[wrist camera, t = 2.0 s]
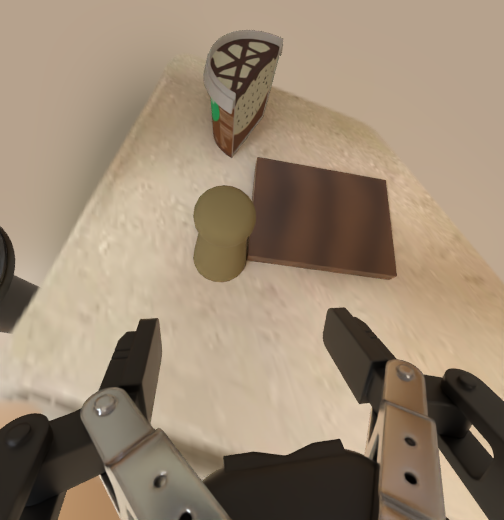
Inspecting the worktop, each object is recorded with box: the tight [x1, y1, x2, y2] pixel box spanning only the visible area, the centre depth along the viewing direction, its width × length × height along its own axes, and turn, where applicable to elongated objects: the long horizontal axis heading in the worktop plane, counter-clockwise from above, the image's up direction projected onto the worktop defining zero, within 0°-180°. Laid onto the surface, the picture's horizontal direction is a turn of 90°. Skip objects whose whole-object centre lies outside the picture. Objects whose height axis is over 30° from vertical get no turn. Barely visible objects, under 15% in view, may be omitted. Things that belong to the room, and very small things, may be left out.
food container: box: [204, 30, 283, 158], centre depth 34 cm, size 12×6×10 cm, turn 152°
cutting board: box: [246, 157, 397, 280], centre depth 35 cm, size 18×14×2 cm
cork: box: [193, 185, 256, 282], centre depth 26 cm, size 6×6×11 cm
